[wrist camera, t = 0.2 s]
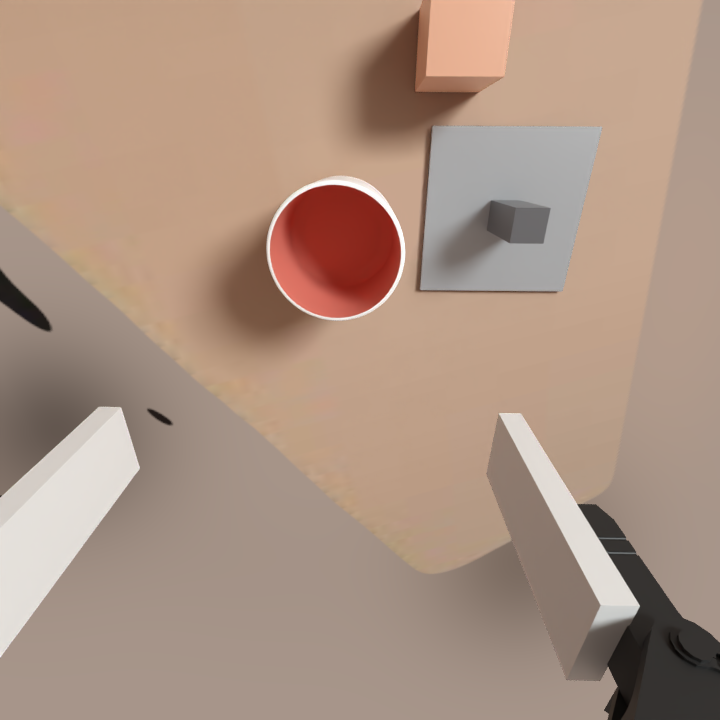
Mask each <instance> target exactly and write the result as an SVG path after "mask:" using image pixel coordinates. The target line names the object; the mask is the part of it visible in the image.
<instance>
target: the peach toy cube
mask: <svg viewBox="0 0 720 720" xmlns="http://www.w3.org/2000/svg"><path fill="white" fill-rule="evenodd" d="M514 4H515V0H423V1H422V4H421V7H420V10H419V28H418V45H417V63H416V80H415V92H480V91H482V90H483V89H485V88H487V87H488V86H490V85H492V84H493V83H495V82H496V81H498V80H500V79H501V78H503V77H504V76H505V69H506V61H507V54H508V47H509V40H510V33H511V26H512V18H513V11H514Z"/></svg>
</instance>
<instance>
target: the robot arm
mask: <svg viewBox="0 0 720 720" xmlns="http://www.w3.org/2000/svg"><path fill="white" fill-rule="evenodd" d="M139 469H140V467H139V464H138V460H137V458H136V454H135V451H134V448H133V445H132V441H131V438H130V435H129V431H128V428H127V425H126V422H125V418H124V415H123V412H122V409H121V407H98V408H97V410H95V411H94V412H93V413H92V414H91V415H90V416H89V417H88V418H86V419H85V420H84V421H83V422H82V423H81V424H80V425H79V426H78V427H77V428H76V429H74V430H73V431H72V432H71V433H70V434H69V435H68V436H67V437H66V438H65V439H64V440H62V442H60V443H59V444H58V445H57V446H56V447H55V448H54V449H53V450H52V451H51V452H49V453H48V454H47V455H46V456H45V457H44V458H43V459H42V460H41V461H40V462H39V463H37V464H36V465H35V466H34V467H33V468H32V469H31V470H30V471H29V472H28V473H26V474H25V475H24V476H23V477H22V478H21V479H20V480H19V481H18V482H17V483H16V484H14V485H13V486H12V487H11V488H10V489H9V490H8V491H7V492H6V493H5V494H4V495H3V496H0V657H1V656H2V655H3V653H4V652H5V650H6V649H7V648H8V646H9V645H10V644H11V642H12V641H13V639H14V638H15V637H16V636H17V634H18V633H19V632H20V630H21V629H22V627H23V626H24V625H25V623H26V622H27V620H28V619H29V618H30V617H31V615H32V614H33V613H34V611H35V610H36V608H37V607H38V606H39V604H40V603H41V602H42V600H43V599H44V598H45V596H46V595H47V594H48V592H49V591H50V589H51V588H52V587H53V585H54V584H55V583H56V581H57V580H58V579H59V577H60V576H61V575H62V573H63V572H64V571H65V569H66V568H67V566H68V565H69V564H70V562H71V561H72V560H73V558H74V557H75V556H76V554H77V553H78V552H79V550H80V549H81V547H82V546H83V545H84V543H85V542H86V541H87V539H88V538H89V537H90V535H91V534H92V532H93V531H94V530H95V529H96V527H97V526H98V524H99V523H100V522H101V520H102V519H103V518H104V516H105V515H106V513H107V512H108V511H109V510H110V508H111V507H112V505H113V504H114V503H115V501H116V500H117V499H118V497H119V496H120V495H121V493H122V492H123V490H124V489H125V488H126V486H127V485H128V484H129V482H130V481H131V480H132V478H133V477H134V476H135V474H136V473H137V472H138V470H139ZM486 474H487V477H488V479H489V482H490V485H491V487H492V490H493V492H494V495H495V497H496V500H497V503H498V505H499V508H500V510H501V513H502V515H503V518H504V521H505V523H506V526H507V528H508V531H509V534H510V536H511V539H512V541H513V544H514V546H515V549H516V551H517V554H518V557H519V559H520V562H521V564H522V567H523V569H524V572H525V575H526V577H527V580H528V582H529V585H530V588H531V590H532V593H533V595H534V598H535V601H536V603H537V606H538V608H539V611H540V613H541V616H542V619H543V621H544V624H545V626H546V629H547V631H548V634H549V636H550V639H551V641H552V644H553V647H554V649H555V652H556V655H557V657H558V660H559V662H560V665H561V667H562V670H563V673H564V675H565V678H566V680H584V681H586V680H587V681H600V680H601V678H602V676H603V675H604V673H605V671H606V669H607V667H609V669H610V671H611V673H612V675H613V678H614V680H615V682H616V684H617V686H618V687H617V689H616V690H615V692H614V694H613V695H612V697H611V699H610V701H609V703H608V704H607V706H606V708H605V709H604V711H606V712H607V713H609V717H608V720H720V643H719V642H718V641H717V640H716V639H715V638H714V637H713V636H712V635H711V634H710V633H708V632H707V631H706V630H704V629H702V628H701V627H700V626H698V625H697V624H695V623H693V622H691V621H688V620H686V619H684V618H682V616H681V615H680V614H679V613H678V611H677V610H676V608H675V607H674V606H673V604H672V603H671V601H670V600H669V598H668V597H667V596H666V594H665V593H664V591H663V590H662V588H661V587H660V585H659V584H658V583H657V581H656V580H655V578H654V577H653V575H652V574H651V573H650V571H649V570H648V568H647V567H646V565H645V564H644V562H643V561H642V560H641V558H640V557H639V556H637V555H636V551H635V550H634V548H633V547H632V545H631V544H630V542H629V541H627V540H626V537H625V535H624V534H623V532H622V531H621V529H620V528H619V526H618V525H617V524H616V522H615V521H614V519H612V518H611V517H610V516H609V515H608V514H606V513H605V512H604V511H603V510H602V509H600V508H599V507H598V506H597V505H592V504H577V503H576V502H575V500H574V499H573V497H572V495H571V494H570V492H569V490H568V489H567V487H566V486H565V484H564V482H563V481H562V479H561V478H560V476H559V474H558V473H557V471H556V469H555V468H554V466H553V465H552V463H551V461H550V460H549V458H548V457H547V455H546V453H545V452H544V450H543V448H542V447H541V445H540V444H539V442H538V440H537V439H536V437H535V436H534V434H533V432H532V431H531V429H530V427H529V426H528V424H527V423H526V421H525V419H524V418H523V416H522V415H521V413H499V414H498V419H497V423H496V428H495V433H494V438H493V443H492V448H491V453H490V458H489V463H488V468H487V473H486Z"/></svg>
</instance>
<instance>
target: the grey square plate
mask: <svg viewBox="0 0 720 720" xmlns="http://www.w3.org/2000/svg"><path fill="white" fill-rule="evenodd" d="M601 131H602V127H552V126H432V132H431V145H430V159H429V172H428V185H427V198H426V212H425V225H424V238H423V251H422V264H421V278H420V290H471V291H563V287H564V283H565V279H566V275H567V271H568V267H569V263H570V258H571V254H572V250H573V246H574V242H575V238H576V234H577V230H578V225H579V221H580V217H581V213H582V209H583V205H584V201H585V197H586V192H587V188H588V184H589V180H590V176H591V172H592V168H593V164H594V159H595V155H596V151H597V147H598V143H599V139H600V135H601Z"/></svg>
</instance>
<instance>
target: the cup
mask: <svg viewBox="0 0 720 720" xmlns="http://www.w3.org/2000/svg"><path fill="white" fill-rule="evenodd" d="M266 255H267V262H268V266H269V270H270V273H271V275H272V278H273V280H274V282H275V284H276V285H277V287H278V289H279V290H280V291H281V293H282V294H283V295H284V296H285V298H286V299H287V300H288V301H289V302H290V303H292V304H293V305H294V306H295V307H297V308H298V309H300V310H301V311H303V312H305V313H307V314H309V315H311V316H314V317H317V318H320V319H324V320H331V321H345V320H351V319H355V318H359V317H361V316H364V315H366V314H368V313H370V312H372V311H373V310H375V309H376V308H378V307H379V306H380V305H382V304H383V303H384V302H385V301H386V300H387V299H388V298H389V296H390V295H391V294H392V292H393V291H394V289H395V288H396V286H397V284H398V282H399V280H400V278H401V275H402V271H403V267H404V261H405V243H404V237H403V233H402V230H401V227H400V224H399V222H398V220H397V218H396V216H395V214H394V213H393V211H392V209H391V207H390V205H389V204H388V202H387V201H386V199H385V198H384V197H383V195H382V194H381V193H380V192H379V191H378V190H377V189H376V188H374V187H373V186H372V185H370V184H369V183H367V182H365V181H363V180H360V179H358V178H354V177H349V176H332V177H327V178H324V179H321V180H318V181H316V182H313V183H311V184H308V185H306V186H304V187H302V188H300V189H299V190H297V191H296V192H294V193H293V194H292V195H290V196H289V197H288V198H287V199H286V200H285V201H284V202H283V203H282V204H281V206H280V207H279V208H278V210H277V211H276V213H275V215H274V217H273V219H272V221H271V224H270V227H269V230H268V235H267V242H266Z"/></svg>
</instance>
